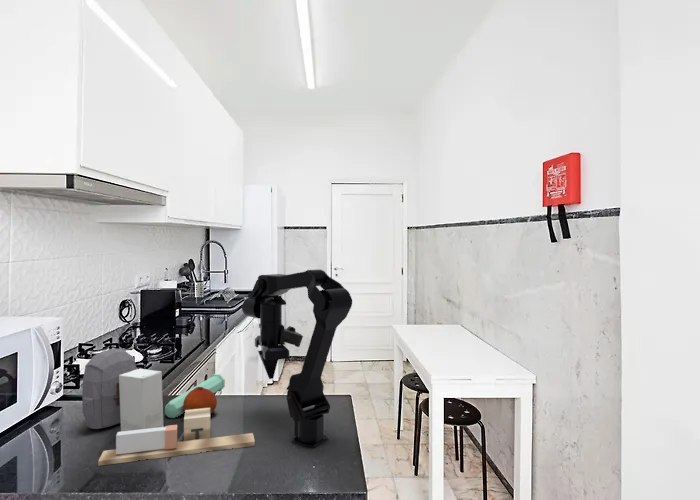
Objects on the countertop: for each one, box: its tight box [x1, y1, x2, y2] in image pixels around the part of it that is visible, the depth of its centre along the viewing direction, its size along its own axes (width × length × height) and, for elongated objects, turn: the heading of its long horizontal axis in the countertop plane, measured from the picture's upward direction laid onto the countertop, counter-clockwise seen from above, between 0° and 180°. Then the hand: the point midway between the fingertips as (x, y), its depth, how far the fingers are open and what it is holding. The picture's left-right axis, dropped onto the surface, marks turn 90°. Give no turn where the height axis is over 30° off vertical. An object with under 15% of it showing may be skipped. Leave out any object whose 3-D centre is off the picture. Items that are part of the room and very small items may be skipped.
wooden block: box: [183, 408, 211, 441], centre depth 109 cm, size 6×6×6 cm
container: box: [164, 373, 226, 419], centre depth 133 cm, size 6×6×25 cm
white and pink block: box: [115, 424, 178, 455], centre depth 100 cm, size 12×3×4 cm, turn 108°
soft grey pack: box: [81, 348, 138, 430], centre depth 117 cm, size 15×8×20 cm, turn 156°
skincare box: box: [119, 368, 164, 432], centre depth 111 cm, size 8×7×16 cm
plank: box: [97, 432, 256, 467], centre depth 102 cm, size 33×5×1 cm, turn 108°
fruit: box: [183, 387, 218, 414], centre depth 123 cm, size 9×9×8 cm
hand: (271, 378), depth 119 cm, fingers closed
